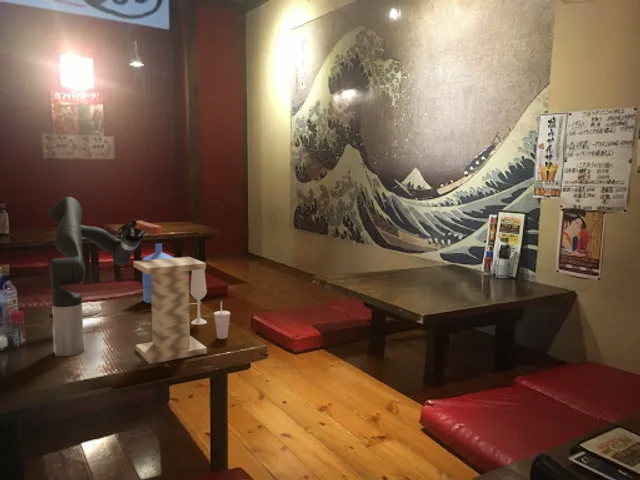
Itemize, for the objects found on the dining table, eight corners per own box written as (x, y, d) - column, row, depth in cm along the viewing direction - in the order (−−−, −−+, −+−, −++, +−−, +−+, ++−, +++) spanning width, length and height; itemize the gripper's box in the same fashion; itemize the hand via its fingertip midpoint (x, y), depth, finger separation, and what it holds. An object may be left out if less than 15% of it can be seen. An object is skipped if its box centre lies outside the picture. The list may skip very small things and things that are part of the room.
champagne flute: (210, 321, 225) (209, 265, 222) (200, 325, 219) (199, 268, 216) (197, 319, 228) (196, 264, 225) (187, 323, 222) (186, 266, 219)
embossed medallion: (103, 306, 249) (103, 300, 249) (99, 317, 230) (99, 310, 230) (56, 309, 243) (56, 302, 243) (48, 320, 224) (48, 313, 224)
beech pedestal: (149, 364, 175) (146, 268, 171) (136, 350, 188) (133, 261, 184) (206, 353, 186) (205, 263, 182) (190, 341, 199) (189, 256, 195)
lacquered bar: (152, 234, 191) (152, 227, 191) (132, 227, 213) (132, 220, 212) (161, 233, 193) (161, 226, 193) (141, 226, 215) (141, 220, 214)
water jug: (146, 297, 267) (145, 241, 264) (178, 296, 269) (177, 241, 265) (139, 304, 252) (138, 246, 248) (173, 304, 254) (172, 246, 250)
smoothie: (210, 338, 202) (210, 302, 200) (219, 334, 208) (219, 299, 206) (225, 340, 200) (225, 304, 198) (233, 335, 206) (233, 300, 204)
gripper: (112, 231, 219) (120, 213, 206) (146, 229, 227) (157, 212, 214) (115, 248, 217) (123, 230, 204) (149, 245, 225) (160, 229, 212)
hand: (140, 221), depth 209 cm, fingers closed on lacquered bar, 3 cm apart
